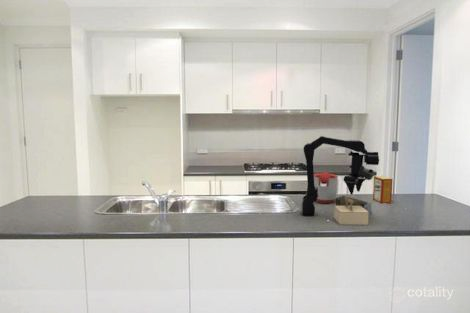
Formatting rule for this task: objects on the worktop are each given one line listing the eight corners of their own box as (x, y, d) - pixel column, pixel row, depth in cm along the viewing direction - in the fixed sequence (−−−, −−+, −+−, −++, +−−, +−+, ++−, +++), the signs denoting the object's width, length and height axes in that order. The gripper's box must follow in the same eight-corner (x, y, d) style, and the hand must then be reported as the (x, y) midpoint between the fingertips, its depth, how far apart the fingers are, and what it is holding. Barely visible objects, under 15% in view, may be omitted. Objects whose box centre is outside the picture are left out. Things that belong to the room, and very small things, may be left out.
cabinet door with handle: (340, 212, 154) (340, 201, 153) (334, 206, 164) (334, 195, 164) (354, 212, 153) (354, 201, 153) (347, 206, 164) (347, 195, 163)
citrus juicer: (309, 203, 192) (310, 172, 190) (313, 197, 208) (314, 168, 206) (335, 206, 186) (336, 174, 184) (338, 199, 202) (339, 169, 200)
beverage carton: (363, 215, 169) (364, 204, 168) (334, 207, 185) (334, 197, 184) (371, 213, 174) (372, 201, 173) (342, 205, 189) (343, 195, 188)
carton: (339, 224, 154) (340, 211, 153) (333, 217, 165) (334, 205, 164) (367, 224, 154) (368, 211, 153) (359, 217, 165) (360, 205, 164)
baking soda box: (373, 199, 201) (374, 175, 199) (382, 199, 202) (383, 175, 200) (381, 203, 192) (382, 178, 190) (391, 203, 192) (392, 178, 191)
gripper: (366, 167, 150) (364, 198, 152) (378, 164, 164) (376, 192, 165) (343, 165, 157) (342, 194, 159) (357, 161, 171) (355, 189, 173)
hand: (355, 192), depth 164 cm, fingers open, 9 cm apart
